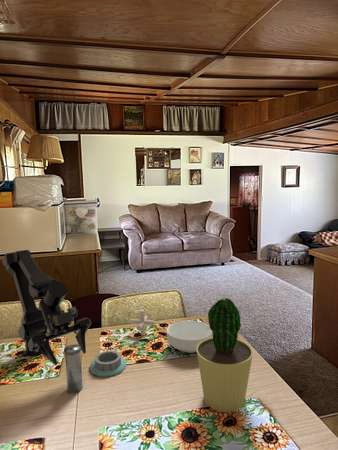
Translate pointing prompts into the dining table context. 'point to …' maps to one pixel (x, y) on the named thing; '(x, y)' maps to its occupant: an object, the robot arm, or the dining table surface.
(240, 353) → the potted cactus
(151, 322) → the pipe connector
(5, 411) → the dining table surface
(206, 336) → the cereal bowl
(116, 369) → the collar
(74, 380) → the gray tube
